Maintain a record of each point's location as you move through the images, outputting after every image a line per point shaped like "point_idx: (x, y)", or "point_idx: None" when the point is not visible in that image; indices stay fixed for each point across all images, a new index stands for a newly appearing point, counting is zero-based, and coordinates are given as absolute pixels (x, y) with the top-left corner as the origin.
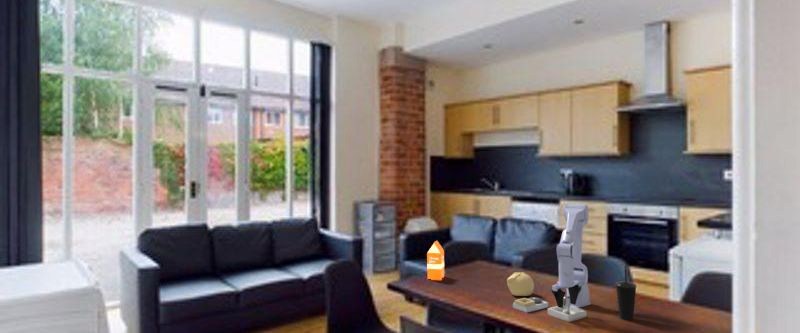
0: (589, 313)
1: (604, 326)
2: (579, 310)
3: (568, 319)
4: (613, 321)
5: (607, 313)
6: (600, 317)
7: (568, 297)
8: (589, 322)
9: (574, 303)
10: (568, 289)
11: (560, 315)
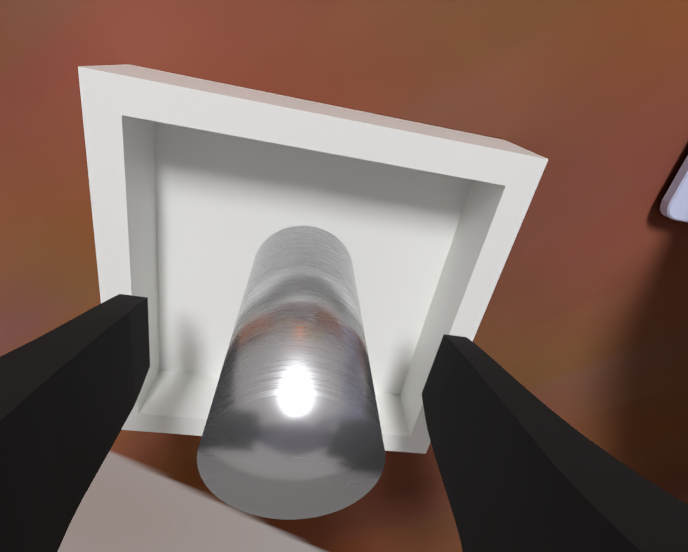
0: (539, 369)
1: (302, 541)
2: (423, 385)
3: None
4: (448, 530)
5: (620, 447)
6: None
7: (315, 493)
8: None
9: (425, 408)
10: (617, 546)
11: None
